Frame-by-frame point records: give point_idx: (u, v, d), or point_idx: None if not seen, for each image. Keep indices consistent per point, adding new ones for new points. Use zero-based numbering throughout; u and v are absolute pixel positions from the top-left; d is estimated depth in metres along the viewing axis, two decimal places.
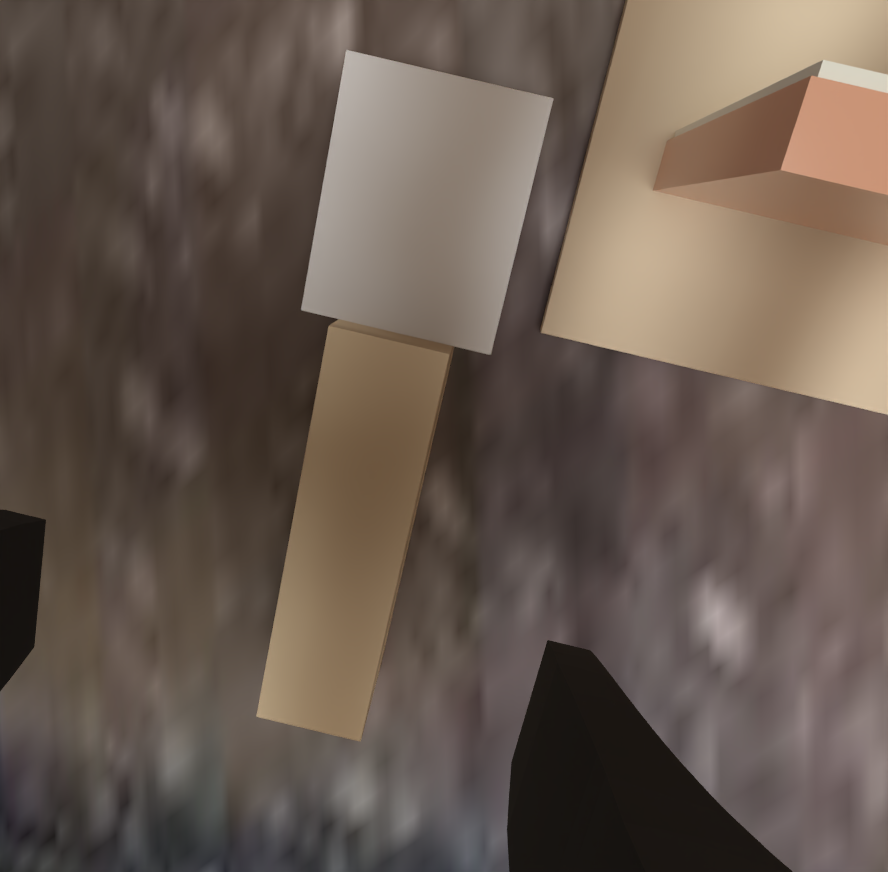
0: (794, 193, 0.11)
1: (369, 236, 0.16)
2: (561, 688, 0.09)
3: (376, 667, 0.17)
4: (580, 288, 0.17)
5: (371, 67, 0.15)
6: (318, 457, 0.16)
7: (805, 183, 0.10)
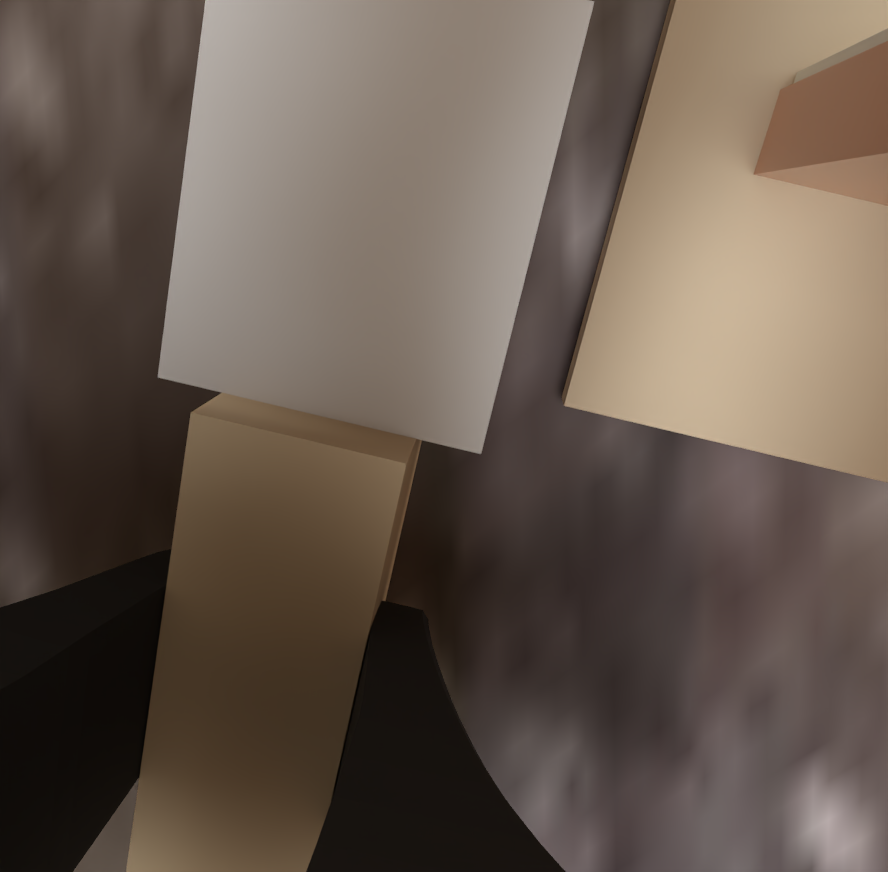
0: None
1: (269, 252, 0.09)
2: (368, 642, 0.09)
3: None
4: (629, 335, 0.11)
5: None
6: (183, 632, 0.09)
7: None
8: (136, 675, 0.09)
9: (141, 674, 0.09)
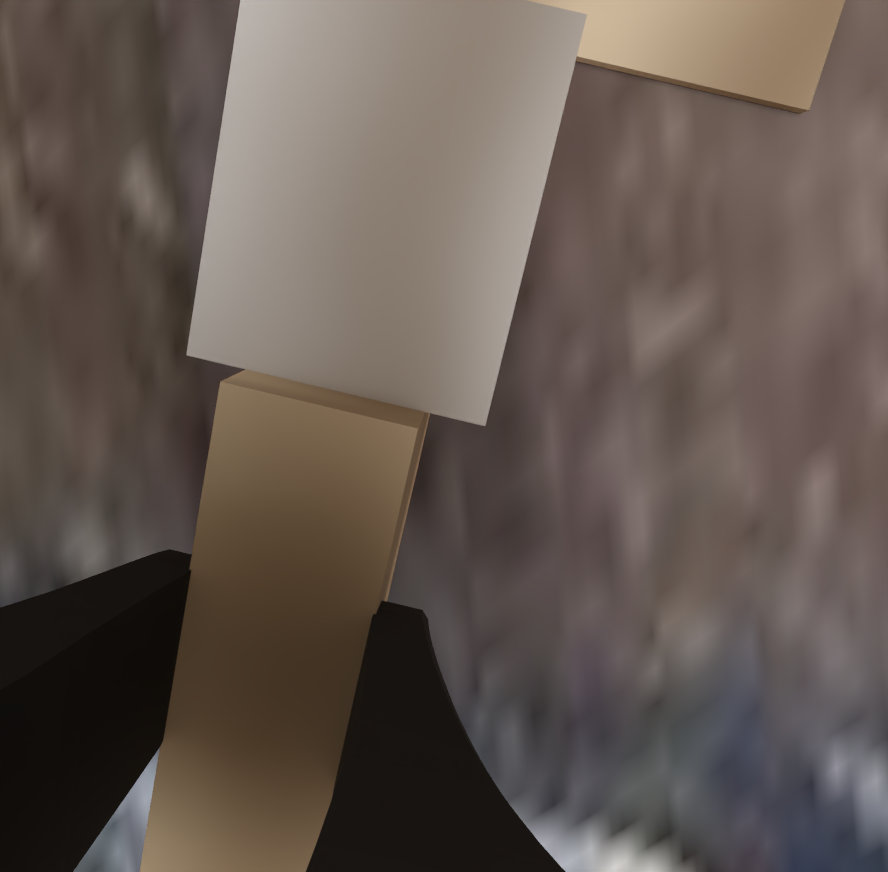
0: None
1: (292, 239, 0.10)
2: (368, 642, 0.09)
3: None
4: None
5: None
6: (208, 591, 0.10)
7: None
8: (136, 675, 0.09)
9: (141, 674, 0.09)
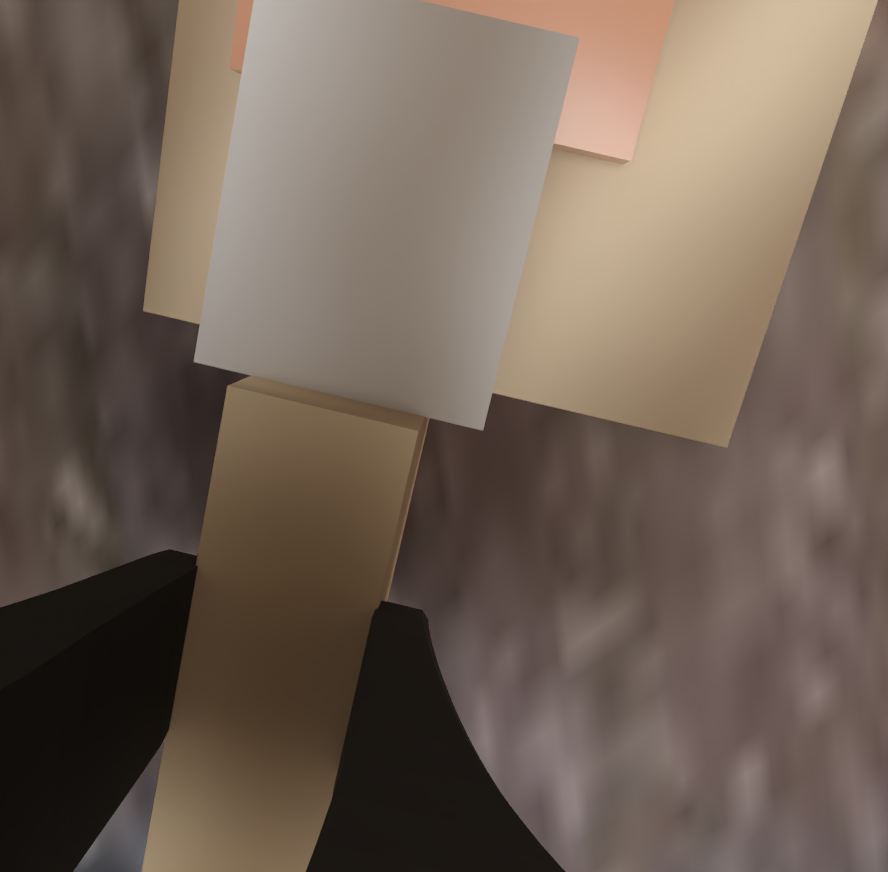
0: None
1: (297, 249, 0.10)
2: (368, 642, 0.09)
3: None
4: (178, 261, 0.16)
5: None
6: (213, 590, 0.10)
7: None
8: (136, 675, 0.09)
9: (141, 674, 0.09)
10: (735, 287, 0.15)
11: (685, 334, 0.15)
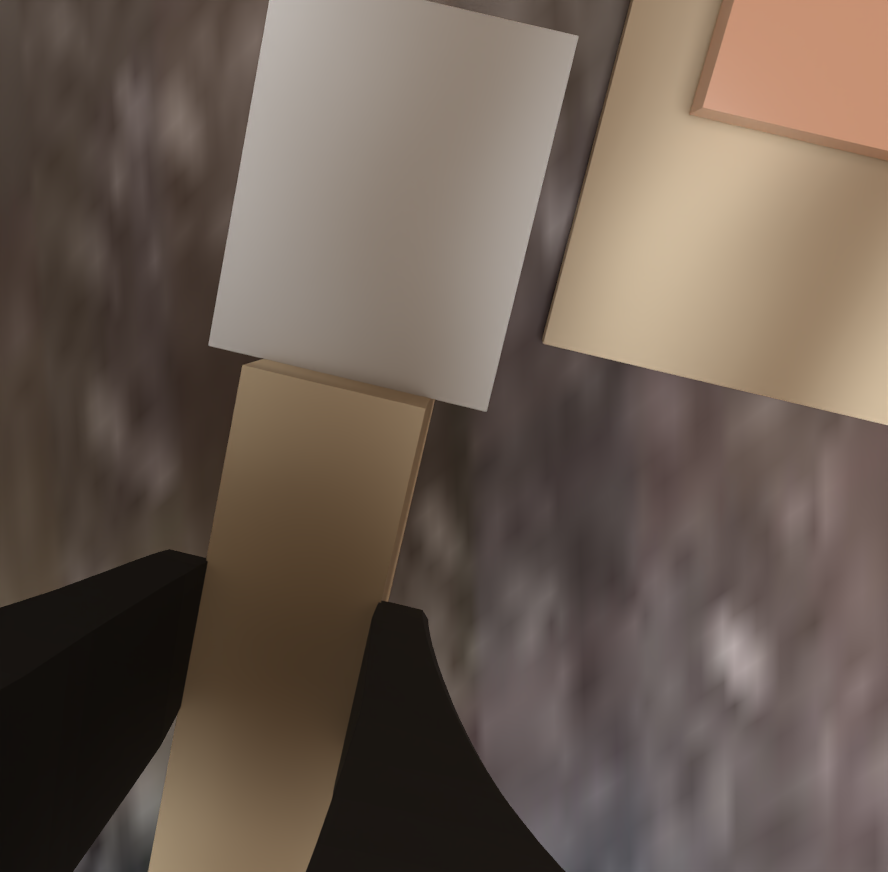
0: None
1: (308, 237, 0.11)
2: (368, 642, 0.09)
3: None
4: (586, 295, 0.16)
5: None
6: (226, 564, 0.11)
7: None
8: (136, 675, 0.09)
9: (141, 674, 0.09)
10: None
11: None
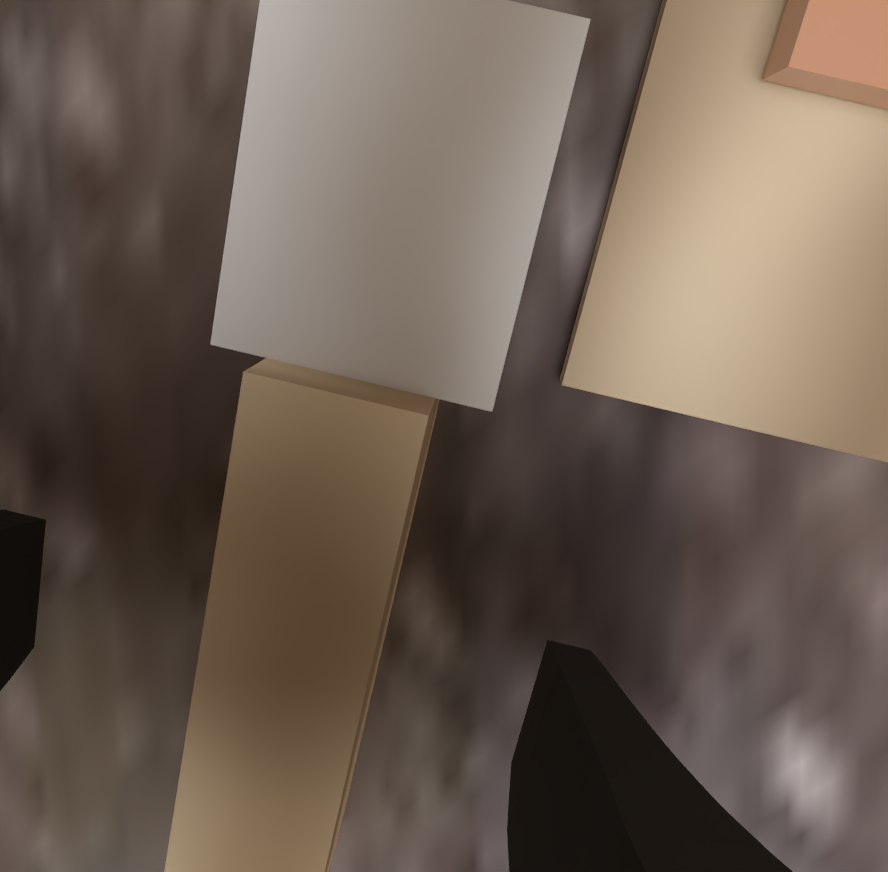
0: None
1: (309, 234, 0.11)
2: (561, 688, 0.09)
3: (325, 860, 0.12)
4: (619, 322, 0.12)
5: None
6: (233, 565, 0.11)
7: None
8: None
9: None
10: None
11: None
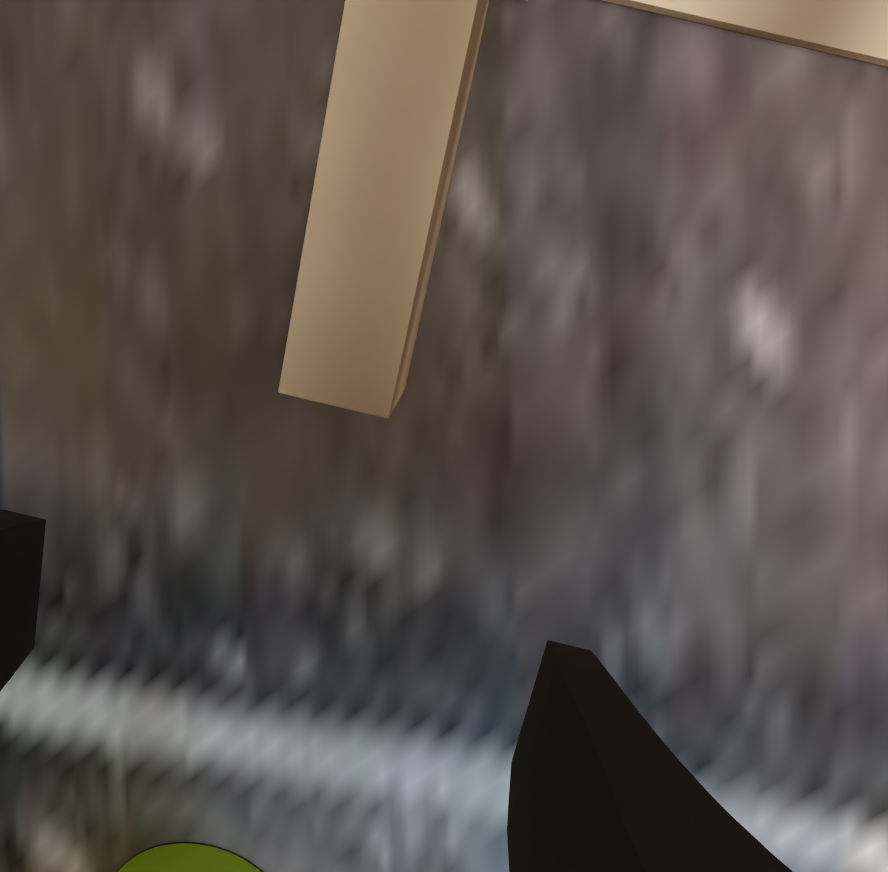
0: None
1: None
2: (561, 688, 0.09)
3: (406, 329, 0.16)
4: None
5: None
6: (346, 79, 0.15)
7: None
8: None
9: None
10: None
11: None
